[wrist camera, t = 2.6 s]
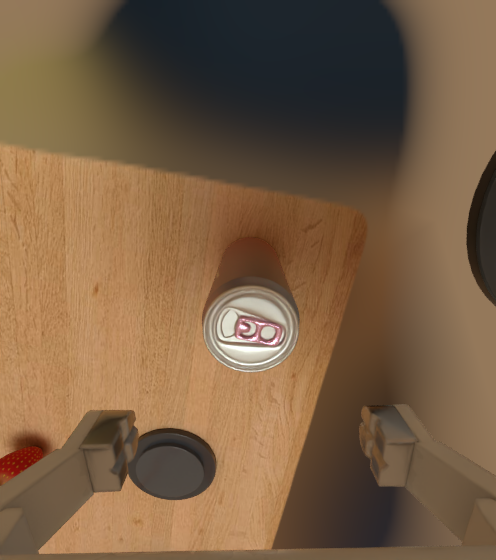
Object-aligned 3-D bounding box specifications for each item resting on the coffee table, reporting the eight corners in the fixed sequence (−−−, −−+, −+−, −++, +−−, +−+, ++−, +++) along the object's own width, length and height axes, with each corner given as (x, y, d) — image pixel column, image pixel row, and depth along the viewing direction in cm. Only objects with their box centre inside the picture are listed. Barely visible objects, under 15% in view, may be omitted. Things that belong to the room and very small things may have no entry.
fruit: (36, 468, 40) (-13, 534, 33) (7, 443, 39) (-52, 507, 31) (64, 451, 39) (20, 515, 32) (35, 425, 38) (-18, 486, 30)
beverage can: (270, 295, 32) (287, 384, 18) (217, 283, 32) (191, 365, 17) (284, 243, 30) (315, 295, 16) (228, 230, 30) (209, 272, 16)
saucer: (213, 427, 38) (212, 436, 37) (218, 494, 42) (217, 504, 40) (122, 428, 38) (117, 437, 37) (134, 495, 42) (130, 505, 40)
